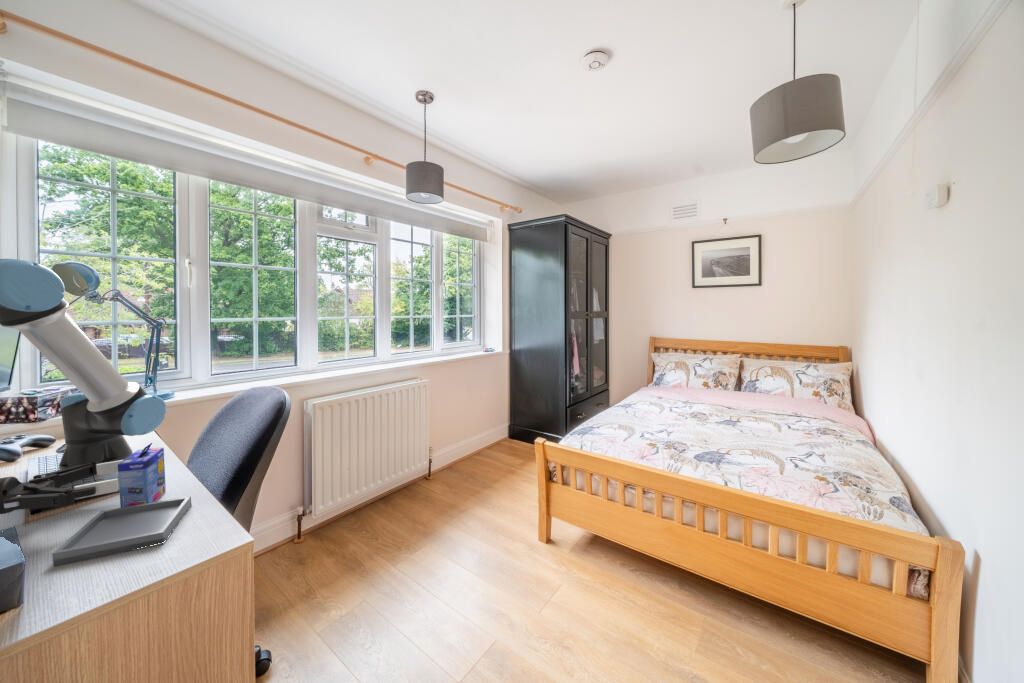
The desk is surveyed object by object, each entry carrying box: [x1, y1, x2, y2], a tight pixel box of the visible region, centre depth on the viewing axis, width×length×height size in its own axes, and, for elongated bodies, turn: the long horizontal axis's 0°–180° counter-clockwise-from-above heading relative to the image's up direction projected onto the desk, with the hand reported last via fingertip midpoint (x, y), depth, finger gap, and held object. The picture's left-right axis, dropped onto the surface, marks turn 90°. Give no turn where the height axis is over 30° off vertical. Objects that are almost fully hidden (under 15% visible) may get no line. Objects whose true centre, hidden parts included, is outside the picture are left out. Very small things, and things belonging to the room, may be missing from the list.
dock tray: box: [51, 495, 192, 567], centre depth 81 cm, size 16×16×2 cm
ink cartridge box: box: [117, 442, 167, 508], centre depth 93 cm, size 10×6×14 cm, turn 24°
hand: (126, 473), depth 90 cm, fingers open, 13 cm apart
